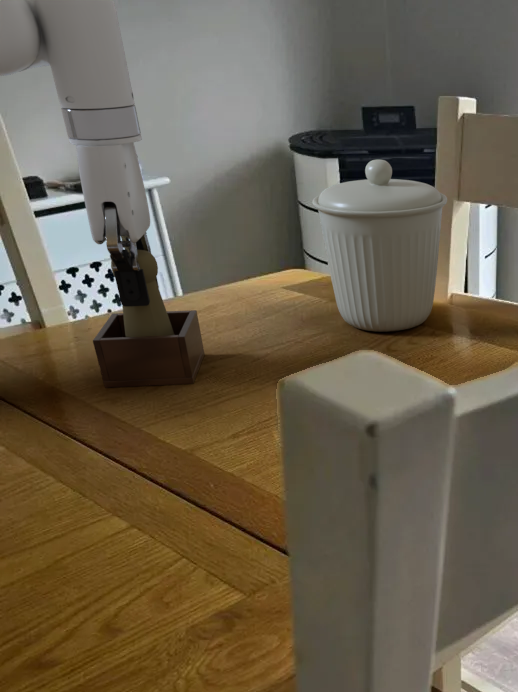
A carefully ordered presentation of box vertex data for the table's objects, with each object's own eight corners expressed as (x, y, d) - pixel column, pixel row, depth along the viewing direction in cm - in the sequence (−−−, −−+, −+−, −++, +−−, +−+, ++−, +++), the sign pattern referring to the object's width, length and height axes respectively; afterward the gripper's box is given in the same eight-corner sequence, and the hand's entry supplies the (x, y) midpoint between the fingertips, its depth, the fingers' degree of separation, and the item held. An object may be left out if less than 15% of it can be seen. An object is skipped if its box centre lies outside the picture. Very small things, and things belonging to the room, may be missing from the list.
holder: (104, 387, 100) (92, 340, 97) (122, 357, 109) (112, 313, 105) (193, 383, 101) (184, 336, 98) (204, 354, 110) (196, 310, 106)
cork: (125, 340, 105) (103, 248, 98) (174, 334, 106) (155, 243, 100) (128, 355, 100) (104, 259, 94) (179, 348, 102) (160, 254, 95)
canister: (402, 350, 110) (395, 175, 98) (298, 328, 118) (279, 163, 106) (470, 314, 123) (472, 155, 110) (372, 297, 131) (363, 146, 118)
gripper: (86, 118, 96) (123, 280, 106) (44, 137, 82) (92, 321, 93) (152, 116, 96) (183, 278, 107) (121, 135, 83) (160, 318, 93)
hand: (140, 296), depth 100 cm, fingers closed on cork, 5 cm apart
